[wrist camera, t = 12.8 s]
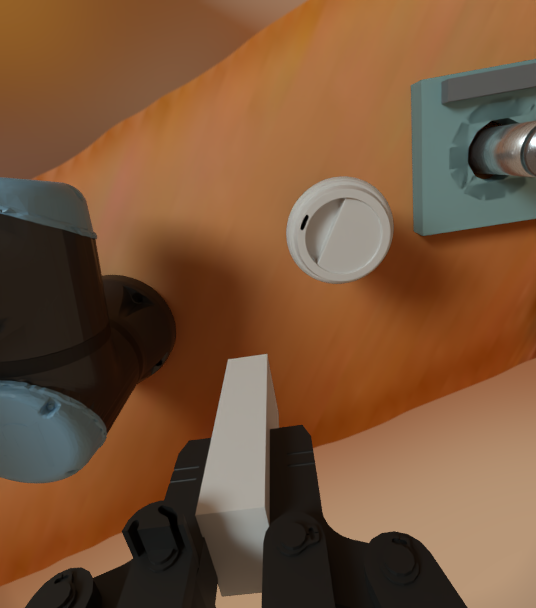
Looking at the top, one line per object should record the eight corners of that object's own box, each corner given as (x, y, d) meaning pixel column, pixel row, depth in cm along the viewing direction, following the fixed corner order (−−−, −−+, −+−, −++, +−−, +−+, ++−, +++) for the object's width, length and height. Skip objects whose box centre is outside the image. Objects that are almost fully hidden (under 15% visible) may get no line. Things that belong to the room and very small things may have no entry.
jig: (413, 231, 46) (428, 238, 42) (411, 85, 40) (427, 76, 36) (547, 210, 45) (576, 215, 41) (564, 57, 39) (600, 44, 35)
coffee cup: (322, 153, 43) (345, 151, 29) (377, 210, 45) (424, 233, 31) (266, 215, 46) (264, 241, 32) (321, 266, 48) (341, 311, 34)
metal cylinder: (460, 176, 44) (524, 182, 32) (461, 132, 42) (530, 122, 31) (502, 169, 43) (582, 173, 32) (505, 124, 42) (590, 112, 30)
